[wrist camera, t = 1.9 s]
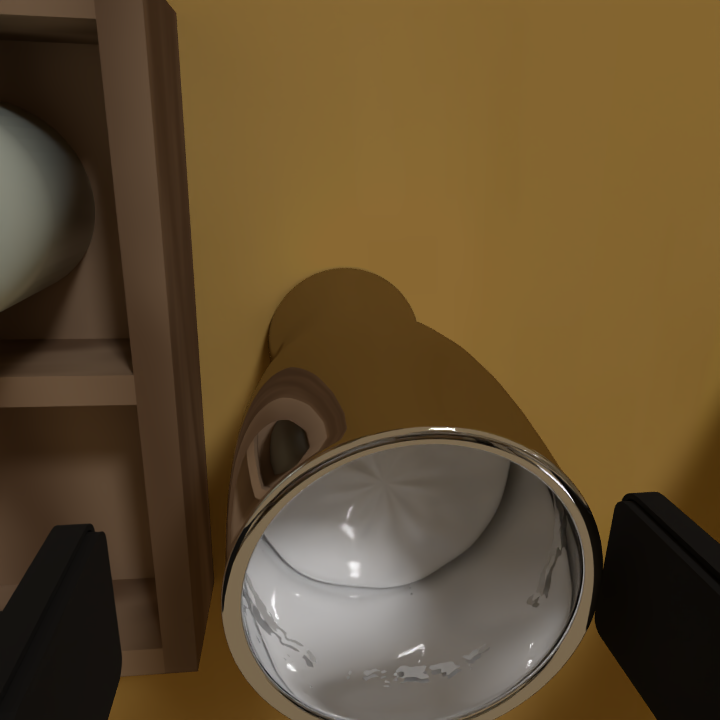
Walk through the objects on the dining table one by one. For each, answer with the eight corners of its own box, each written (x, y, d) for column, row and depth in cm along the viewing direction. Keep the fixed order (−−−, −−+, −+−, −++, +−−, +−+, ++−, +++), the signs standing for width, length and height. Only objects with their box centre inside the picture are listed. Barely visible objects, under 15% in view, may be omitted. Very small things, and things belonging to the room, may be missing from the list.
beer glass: (233, 389, 24) (153, 714, 10) (293, 228, 22) (295, 350, 8) (388, 439, 26) (505, 783, 12) (455, 293, 24) (691, 489, 10)
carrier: (176, 13, 20) (140, -33, 15) (214, 581, 27) (197, 671, 22) (-236, -9, 18) (-419, -66, 14) (-77, 597, 26) (-159, 695, 21)
